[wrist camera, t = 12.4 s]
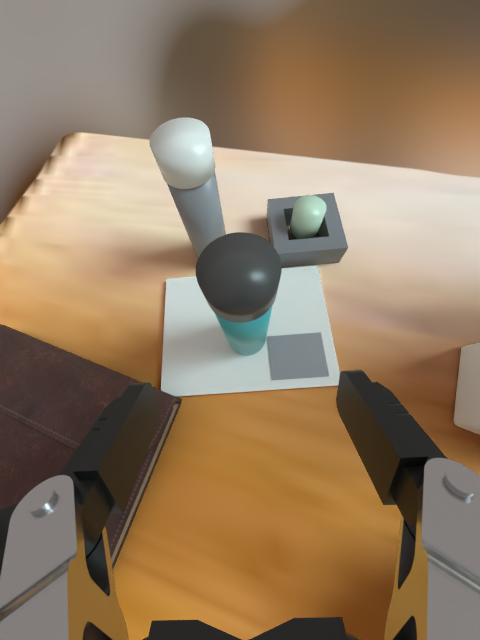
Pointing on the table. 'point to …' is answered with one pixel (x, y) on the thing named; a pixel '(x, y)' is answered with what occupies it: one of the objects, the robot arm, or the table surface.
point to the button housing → (311, 249)
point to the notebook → (61, 420)
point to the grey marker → (190, 177)
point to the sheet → (258, 369)
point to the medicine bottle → (468, 389)
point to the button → (307, 216)
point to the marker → (240, 287)
